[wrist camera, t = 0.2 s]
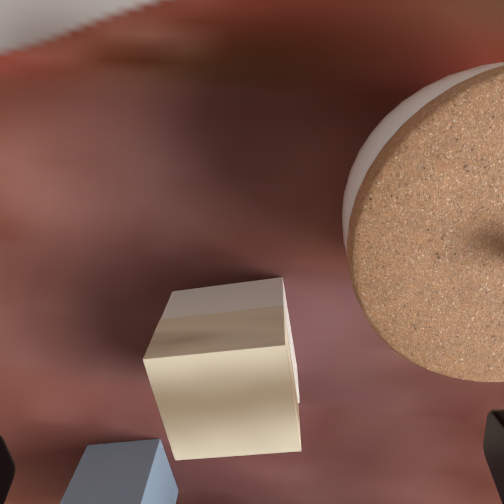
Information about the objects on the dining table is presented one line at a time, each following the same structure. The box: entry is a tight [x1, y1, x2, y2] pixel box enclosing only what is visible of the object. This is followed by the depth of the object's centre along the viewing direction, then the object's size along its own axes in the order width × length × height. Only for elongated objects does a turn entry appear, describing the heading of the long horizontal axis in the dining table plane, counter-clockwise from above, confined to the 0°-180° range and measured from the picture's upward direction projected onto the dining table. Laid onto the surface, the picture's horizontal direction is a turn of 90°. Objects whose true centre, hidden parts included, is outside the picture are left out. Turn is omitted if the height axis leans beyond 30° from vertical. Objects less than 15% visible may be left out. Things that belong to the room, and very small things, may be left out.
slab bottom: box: [161, 277, 300, 403], centre depth 23 cm, size 6×6×3 cm
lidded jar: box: [342, 62, 504, 382], centre depth 16 cm, size 11×11×9 cm
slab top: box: [143, 306, 301, 460], centre depth 20 cm, size 6×6×3 cm
